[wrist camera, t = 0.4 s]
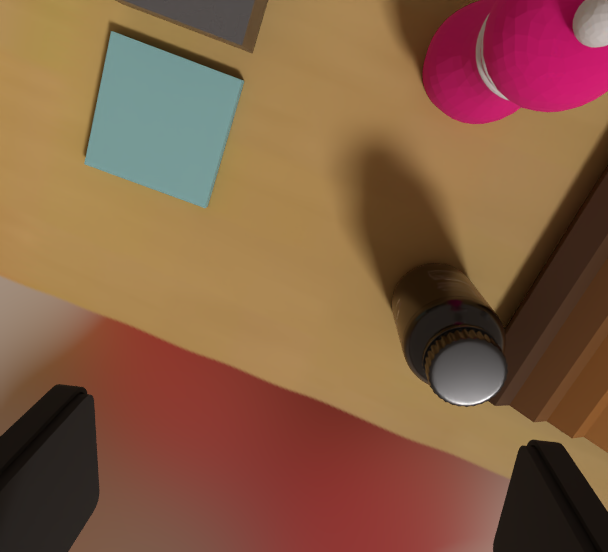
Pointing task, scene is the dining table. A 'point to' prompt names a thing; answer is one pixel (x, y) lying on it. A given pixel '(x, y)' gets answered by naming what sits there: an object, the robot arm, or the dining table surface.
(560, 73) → the pepper mill
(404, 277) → the supplement bottle
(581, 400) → the pan flute
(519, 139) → the dining table surface
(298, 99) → the dining table surface
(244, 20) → the rail
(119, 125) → the teal mat
